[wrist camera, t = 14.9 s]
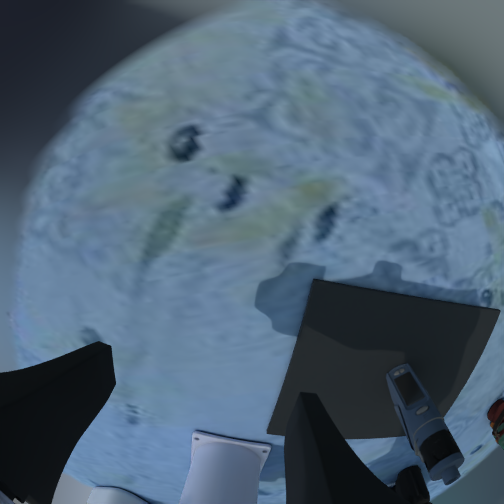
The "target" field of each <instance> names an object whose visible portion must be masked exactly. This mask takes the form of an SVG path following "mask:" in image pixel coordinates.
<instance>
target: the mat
mask: <svg viewBox="0 0 504 504" xmlns="http://www.w3.org/2000/svg"><path fill="white" fill-rule="evenodd" d="M500 312H501V311H500V310H498V309H491V308H484V307H478V306H471V305H465V304H458V303H452V302H446V301H440V300H433V299H427V298H421V297H415V296H409V295H403V294H397V293H391V292H386V291H380V290H374V289H368V288H362V287H357V286H351V285H346V284H340V283H334V282H329V281H323V280H318V279H313V283H312V287H311V291H310V294H309V298H308V302H307V306H306V309H305V313H304V317H303V320H302V324H301V327H300V331H299V334H298V338H297V341H296V345H295V348H294V351H293V354H292V358H291V361H290V364H289V367H288V371H287V374H286V377H285V380H284V383H283V386H282V389H281V392H280V395H279V398H278V401H277V404H276V406H275V409H274V412H273V415H272V418H271V421H270V423H269V426H268V429H267V434H272V435H281V436H285V431H286V425H287V422H288V420H289V418H290V415H291V413H292V411H293V408H294V406H295V403H296V401H297V398H298V396H299V393H300V392H308V393H316V394H317V395H318V397H319V398H320V400H321V402H322V404H323V405H324V407H325V409H326V411H327V412H328V414H329V416H330V417H331V419H332V421H333V422H334V424H335V425H336V427H337V429H338V430H339V432H340V433H341V435H342V436H343V438H344V439H371V438H388V437H399V436H406V434H405V431H404V429H403V427H402V424H401V422H400V420H399V417H398V415H397V413H396V411H395V408H394V406H395V405H394V403H393V401H392V398H391V394H390V391H389V387H388V383H387V379H386V374H387V373H389V372H390V371H391V370H392V369H393V368H395V367H397V366H399V365H402V364H406V363H409V365H410V366H411V368H412V369H413V371H414V372H415V374H416V375H417V377H418V378H419V380H420V381H421V383H422V385H423V386H424V388H425V389H426V390H427V391H428V394H429V396H430V397H431V399H432V401H433V402H434V404H435V406H436V407H437V409H438V411H439V412H440V414H441V416H442V417H444V416H445V415H446V413H447V412H448V410H449V409H450V407H451V406H452V404H453V403H454V401H455V400H456V398H457V397H458V395H459V394H460V392H461V390H462V389H463V387H464V386H465V384H466V382H467V380H468V379H469V377H470V375H471V373H472V372H473V370H474V368H475V366H476V364H477V362H478V360H479V359H480V357H481V355H482V353H483V351H484V349H485V346H486V344H487V342H488V340H489V338H490V336H491V333H492V331H493V329H494V326H495V324H496V322H497V319H498V317H499V314H500Z"/></svg>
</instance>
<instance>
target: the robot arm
mask: <svg viewBox="0 0 504 504" xmlns="http://www.w3.org/2000/svg"><path fill="white" fill-rule="evenodd" d="M115 385H116V380H115V373H114V365H113V357H112V348H111V346H110V345H107V344H105V343H102V342H100V341H98V342H95V343H92V344H90V345H87V346H85V347H82V348H80V349H77V350H75V351H73V352H70V353H68V354H65V355H63V356H60V357H58V358H55V359H52V360H49V361H46V362H44V363H41V364H38V365H35V366H31V367H28V368H24V369H20V370H15V371H10V372H3V373H0V504H15V503H14V502H13V500H14V498H16V499H17V500H18V501H20V502H21V503H24V502H25V501H26V502H27V503H28V504H51V503H52V499H53V496H54V492H55V490H56V487H57V484H58V481H59V479H60V476H61V474H62V472H63V469H64V467H65V465H66V463H67V461H68V459H69V457H70V455H71V453H72V451H73V449H74V447H75V445H76V444H77V442H78V441H79V439H80V438H81V436H82V435H83V433H84V432H85V431H86V429H87V428H88V427H89V425H90V424H91V423H92V421H93V420H94V419H95V417H96V416H97V415H98V413H99V412H100V410H101V409H102V408H103V406H104V405H105V403H106V402H107V400H108V398H109V397H110V395H111V393H112V391H113V389H114V387H115ZM270 450H271V446H270V445H268V444H262V443H255V442H248V441H242V440H236V439H231V438H226V437H221V436H216V435H212V434H207V433H203V432H199V431H194V432H193V435H192V452H191V467H190V470H189V473H188V476H187V479H186V482H185V486H184V489H183V492H182V495H181V498H180V501H179V504H257V497H258V487H259V477H260V472H261V470H262V468H263V466H264V464H265V462H266V459H267V457H268V455H269V453H270ZM284 458H285V478H286V504H411V503H410V502H408V501H407V500H405V499H404V498H402V497H401V496H399V495H398V494H397V493H395V492H394V491H393V490H391V489H390V488H389V487H388V486H387V485H385V484H384V483H383V482H382V481H381V480H379V479H378V478H377V477H376V476H375V475H374V474H373V473H372V472H371V471H370V470H369V469H368V468H367V467H366V466H365V464H364V463H363V462H362V461H361V460H360V459H359V457H358V456H357V455H356V454H355V452H354V451H353V450H352V449H351V447H350V446H349V445H348V443H347V442H346V440H345V439H344V438H343V436H342V435H341V433H340V432H339V430H338V429H337V427H336V425H335V424H334V422H333V421H332V419H331V417H330V416H329V414H328V412H327V411H326V409H325V407H324V405H323V404H322V402H321V400H320V398H319V397H318V395H317V394H316V393H308V392H300V393H299V396H298V398H297V401H296V403H295V406H294V408H293V411H292V413H291V415H290V418H289V420H288V422H287V425H286V431H285V443H284Z"/></svg>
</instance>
